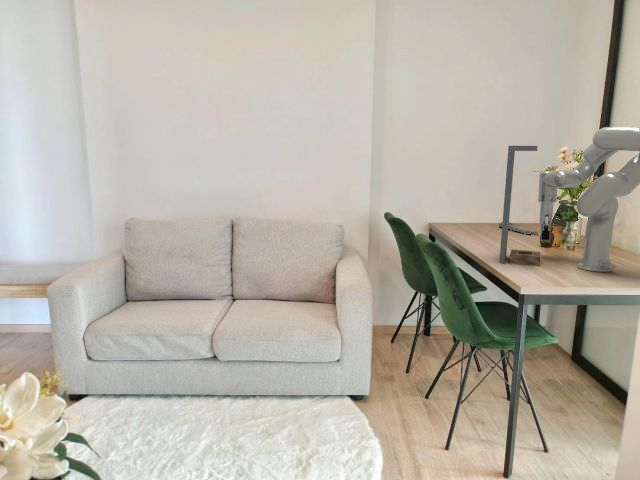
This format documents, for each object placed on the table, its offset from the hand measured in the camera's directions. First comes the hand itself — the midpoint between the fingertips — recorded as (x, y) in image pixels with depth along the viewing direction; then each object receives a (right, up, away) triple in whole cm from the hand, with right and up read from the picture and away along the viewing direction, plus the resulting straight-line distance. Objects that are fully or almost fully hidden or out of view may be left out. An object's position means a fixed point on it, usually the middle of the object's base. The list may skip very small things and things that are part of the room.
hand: (545, 238), depth 218 cm
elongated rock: (+19, +4, +78) cm, 81 cm away
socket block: (-12, -10, -7) cm, 18 cm away
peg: (0, -1, 0) cm, 1 cm away
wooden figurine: (+14, -4, +28) cm, 32 cm away
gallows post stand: (-17, -10, -5) cm, 20 cm away
